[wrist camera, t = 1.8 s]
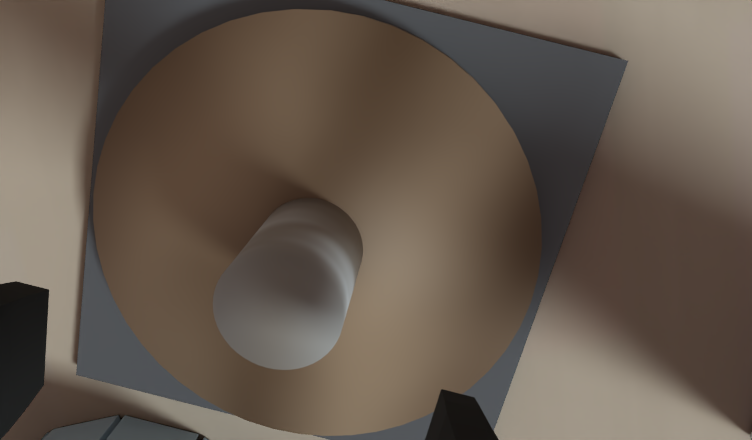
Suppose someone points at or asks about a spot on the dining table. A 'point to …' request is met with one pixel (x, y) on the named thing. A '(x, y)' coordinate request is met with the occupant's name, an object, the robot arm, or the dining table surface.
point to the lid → (317, 221)
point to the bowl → (119, 431)
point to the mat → (449, 35)
